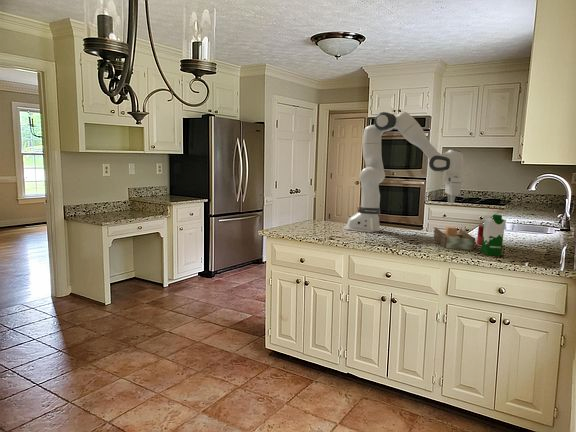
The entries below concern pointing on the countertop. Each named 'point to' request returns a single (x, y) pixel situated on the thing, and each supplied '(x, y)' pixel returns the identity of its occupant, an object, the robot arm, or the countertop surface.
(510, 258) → the countertop surface
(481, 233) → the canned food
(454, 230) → the block
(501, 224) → the milk carton
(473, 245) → the trap box
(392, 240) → the countertop surface
